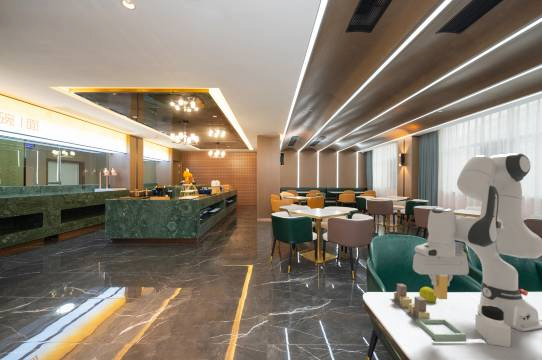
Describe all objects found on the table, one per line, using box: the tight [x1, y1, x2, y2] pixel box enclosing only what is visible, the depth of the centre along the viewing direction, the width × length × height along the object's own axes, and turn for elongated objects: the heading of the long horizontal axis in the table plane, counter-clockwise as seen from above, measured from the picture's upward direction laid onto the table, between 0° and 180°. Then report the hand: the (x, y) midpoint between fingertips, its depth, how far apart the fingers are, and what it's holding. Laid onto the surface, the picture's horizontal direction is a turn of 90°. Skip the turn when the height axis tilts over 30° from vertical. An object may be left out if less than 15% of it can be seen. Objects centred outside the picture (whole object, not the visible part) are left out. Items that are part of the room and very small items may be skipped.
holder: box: [389, 283, 432, 323], centre depth 105 cm, size 19×8×9 cm, turn 3°
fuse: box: [433, 275, 448, 300], centre depth 91 cm, size 3×3×10 cm
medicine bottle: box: [474, 305, 512, 348], centre depth 87 cm, size 7×7×12 cm
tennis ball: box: [418, 286, 438, 303], centre depth 115 cm, size 7×7×7 cm
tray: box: [415, 318, 467, 343], centre depth 90 cm, size 12×10×3 cm
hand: (440, 285), depth 91 cm, fingers closed on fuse, 3 cm apart
